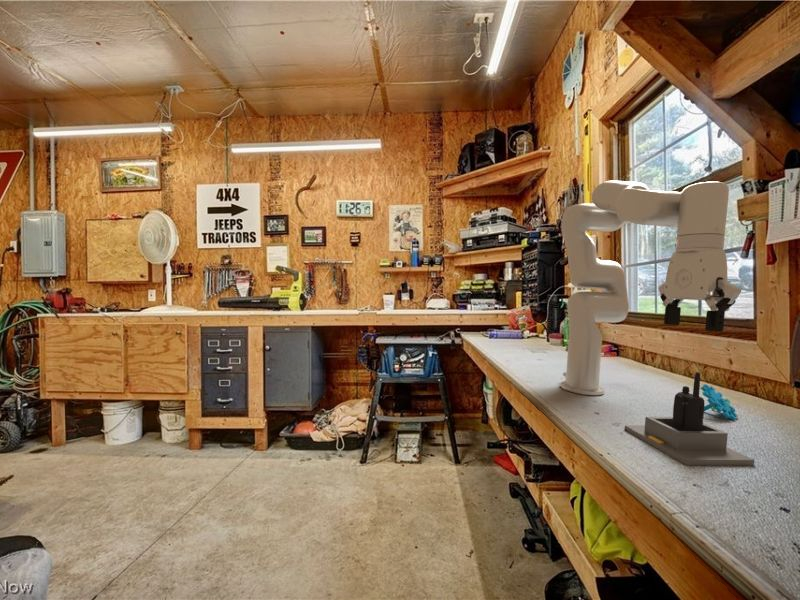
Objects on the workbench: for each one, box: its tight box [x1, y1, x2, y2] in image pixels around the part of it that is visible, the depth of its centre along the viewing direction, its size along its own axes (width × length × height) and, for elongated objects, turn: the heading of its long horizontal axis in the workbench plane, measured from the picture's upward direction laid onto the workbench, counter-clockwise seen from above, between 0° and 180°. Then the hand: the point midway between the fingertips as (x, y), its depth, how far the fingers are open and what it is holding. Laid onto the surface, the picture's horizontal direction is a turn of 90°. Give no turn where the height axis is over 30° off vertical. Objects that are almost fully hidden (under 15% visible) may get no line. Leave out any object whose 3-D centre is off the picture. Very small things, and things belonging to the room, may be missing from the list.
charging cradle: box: [624, 416, 755, 466], centre depth 74 cm, size 16×14×4 cm
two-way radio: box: [672, 371, 705, 431], centre depth 74 cm, size 6×4×15 cm
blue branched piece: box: [700, 384, 739, 421], centre depth 96 cm, size 11×6×10 cm
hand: (691, 327), depth 73 cm, fingers open, 9 cm apart
